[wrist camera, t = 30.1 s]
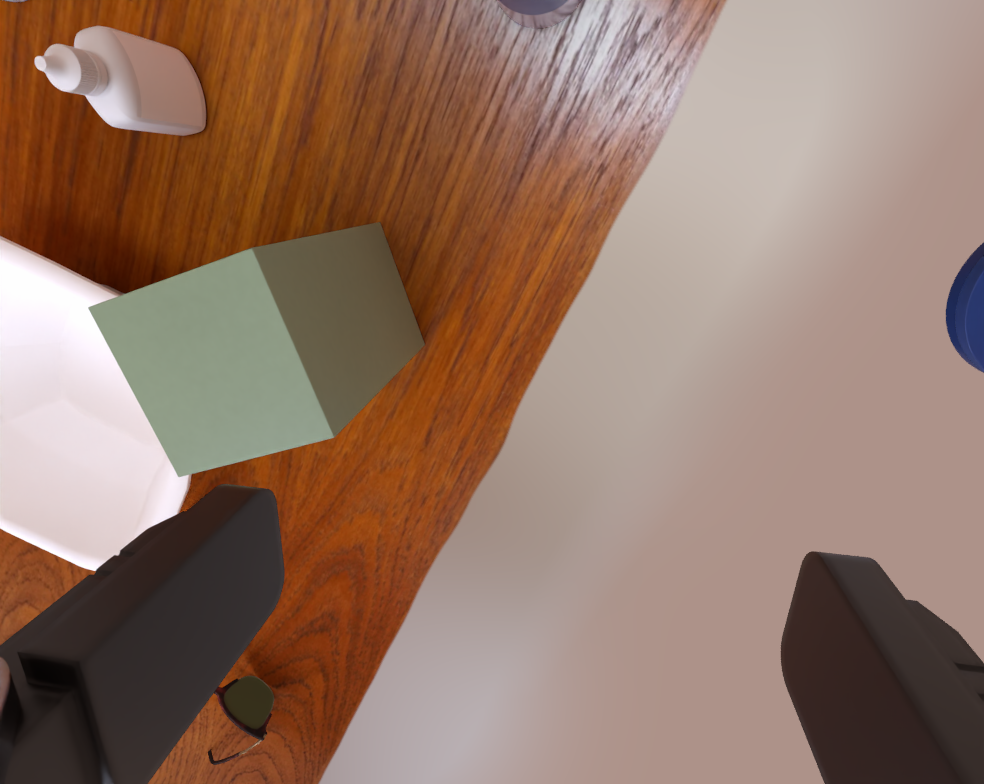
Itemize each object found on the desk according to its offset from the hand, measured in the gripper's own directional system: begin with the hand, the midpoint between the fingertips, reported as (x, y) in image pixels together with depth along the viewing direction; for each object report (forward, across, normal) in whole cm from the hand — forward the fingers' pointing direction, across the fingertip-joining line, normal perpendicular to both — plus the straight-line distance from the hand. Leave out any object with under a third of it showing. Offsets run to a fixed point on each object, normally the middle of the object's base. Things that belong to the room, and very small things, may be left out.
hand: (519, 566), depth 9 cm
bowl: (+36, +38, +12) cm, 54 cm away
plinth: (+36, +18, +4) cm, 40 cm away
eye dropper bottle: (+36, +29, -11) cm, 48 cm away
